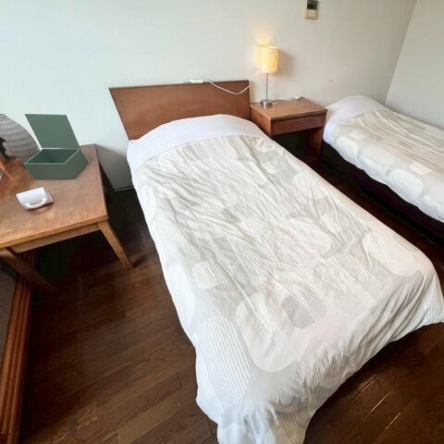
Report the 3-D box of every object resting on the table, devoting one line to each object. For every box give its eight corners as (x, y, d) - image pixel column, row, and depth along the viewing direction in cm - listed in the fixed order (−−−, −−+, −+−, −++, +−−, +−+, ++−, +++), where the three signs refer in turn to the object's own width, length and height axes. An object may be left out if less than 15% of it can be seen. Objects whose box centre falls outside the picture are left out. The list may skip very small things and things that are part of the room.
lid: (65, 115, 135) (70, 113, 139) (24, 113, 132) (30, 112, 136) (79, 148, 145) (84, 145, 149) (41, 148, 142) (47, 145, 146)
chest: (74, 179, 140) (64, 163, 133) (34, 179, 137) (22, 164, 130) (88, 163, 152) (80, 148, 146) (52, 163, 149) (42, 148, 143)
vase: (47, 155, 155) (16, 109, 136) (48, 164, 148) (15, 117, 129) (20, 160, 149) (-16, 112, 130) (20, 170, 142) (-19, 121, 123)
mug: (26, 204, 122) (15, 191, 117) (51, 196, 128) (42, 184, 122) (29, 216, 116) (17, 203, 111) (55, 208, 122) (45, 195, 116)
